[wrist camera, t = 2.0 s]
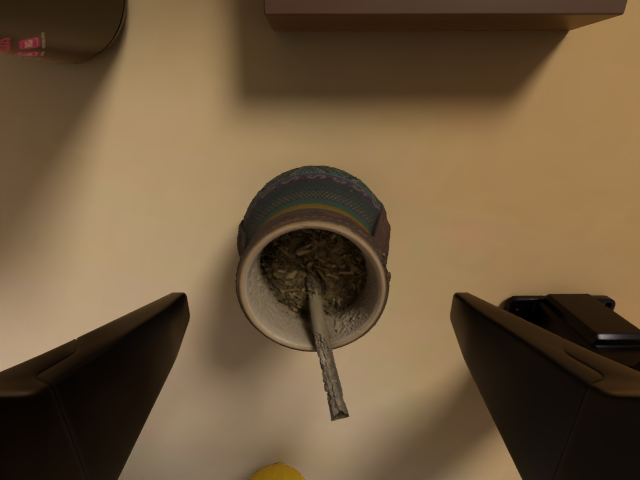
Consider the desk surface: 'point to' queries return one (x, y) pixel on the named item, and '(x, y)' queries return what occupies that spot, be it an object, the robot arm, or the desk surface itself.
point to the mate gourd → (314, 265)
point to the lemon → (277, 473)
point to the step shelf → (437, 14)
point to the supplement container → (60, 28)
